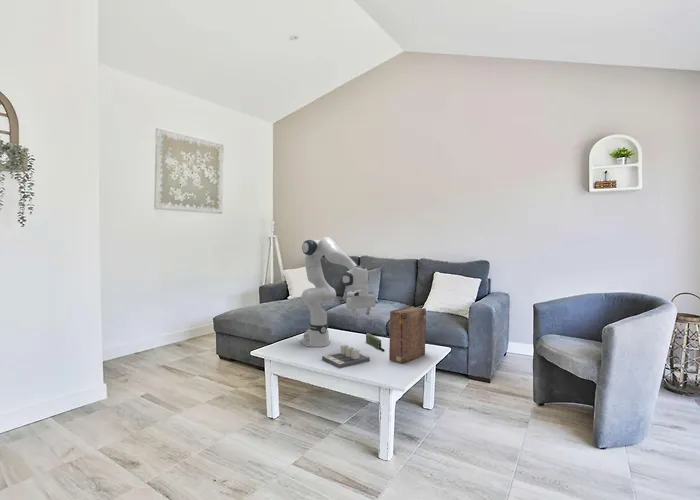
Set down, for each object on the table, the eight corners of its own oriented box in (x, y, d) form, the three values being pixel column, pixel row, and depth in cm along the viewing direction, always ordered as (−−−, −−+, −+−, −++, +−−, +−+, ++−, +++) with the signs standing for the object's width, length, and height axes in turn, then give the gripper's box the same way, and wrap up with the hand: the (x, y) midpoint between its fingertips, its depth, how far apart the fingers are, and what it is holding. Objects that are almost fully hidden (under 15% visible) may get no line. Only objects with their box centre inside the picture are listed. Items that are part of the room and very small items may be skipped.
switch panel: (322, 359, 232) (322, 356, 232) (351, 353, 245) (351, 350, 245) (339, 368, 218) (339, 364, 218) (369, 361, 231) (369, 357, 231)
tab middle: (345, 355, 234) (346, 347, 233) (350, 354, 236) (350, 346, 235) (349, 357, 231) (349, 348, 231) (353, 356, 233) (353, 347, 233)
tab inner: (340, 353, 238) (340, 345, 238) (345, 352, 240) (345, 344, 240) (343, 354, 235) (343, 346, 235) (348, 353, 238) (348, 345, 237)
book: (412, 351, 252) (414, 305, 251) (425, 354, 245) (426, 307, 244) (389, 360, 233) (390, 311, 232) (401, 364, 227) (402, 313, 226)
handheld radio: (369, 342, 274) (386, 351, 251) (365, 342, 273) (381, 352, 250) (369, 332, 274) (386, 341, 250) (365, 333, 272) (381, 342, 249)
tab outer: (351, 358, 229) (351, 349, 229) (356, 357, 231) (356, 348, 231) (354, 359, 227) (354, 351, 226) (359, 358, 229) (359, 350, 229)
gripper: (370, 291, 242) (371, 313, 242) (344, 293, 230) (344, 316, 230) (377, 291, 237) (377, 314, 237) (350, 294, 225) (351, 317, 224)
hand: (361, 315), depth 233 cm, fingers open, 8 cm apart
